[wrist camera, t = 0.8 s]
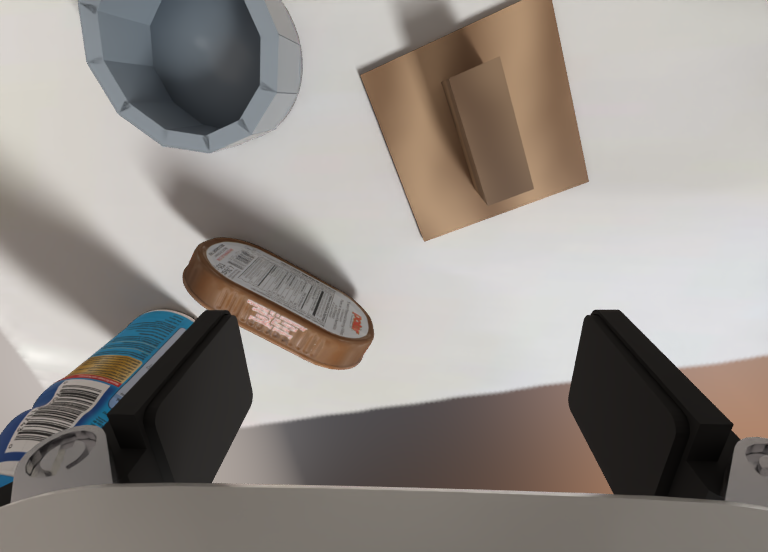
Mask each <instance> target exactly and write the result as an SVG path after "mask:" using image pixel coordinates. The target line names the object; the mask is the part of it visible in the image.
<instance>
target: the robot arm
mask: <svg viewBox="0 0 768 552" xmlns="http://www.w3.org/2000/svg"><path fill="white" fill-rule="evenodd" d="M252 399H253V393H252V387H251V383H250V378H249V373H248V368H247V363H246V359H245V354H244V349H243V344H242V339H241V335H240V330H239V325H238V320H237V318H236V316H235V315H231V313H230V312H229V311H228V310H206V311H204V312H203V313H202V314H201V315H200V316H199V317H198V318H197V319H196V320H195V322H194V323H193V324H192V325H191V326H190V327H189V328H188V329H187V330H186V331H185V332H184V333H183V334H182V335H181V336H180V337H179V338H178V339H177V340H176V342H175V343H174V344H173V345H172V346H171V347H170V348H169V349H168V350H167V351H166V352H165V353H164V354H163V355H162V356H161V357H160V358H159V359H158V361H157V362H156V363H155V364H154V365H153V366H152V367H151V368H150V369H149V370H148V371H147V372H146V373H145V374H144V375H143V376H142V377H141V378H140V379H139V381H138V382H137V383H136V384H135V385H134V386H133V387H132V388H131V389H130V390H129V391H128V392H127V393H126V394H125V395H124V396H123V397H122V398H121V399H120V401H119V402H118V403H117V404H116V405H115V406H114V407H113V408H112V409H111V410H110V411H109V412H108V413H107V417H108V419H109V421H108V422H107V423H106V424H105V425H104V426H103V427H102V428H100V427H98V426H94V425H82V426H75V427H72V428H69V429H66V430H62V431H60V432H58V433H56V434H54V435H51V436H49V437H47V438H46V439H44V440H43V441H41V442H40V443H38V444H36V445H35V446H34V447H33V448H32V449H30V450H29V451H28V452H27V453H26V454H25V455H24V456H23V457H22V459H21V460H20V461H19V462H18V464H17V466H16V469H15V472H14V478H13V482H11V483H9V484H7V485H4V486H2V487H0V552H768V439H766V438H760V437H752V438H751V437H750V438H745V439H742V440H740V439H739V438H738V437H737V436H736V435H735V433H734V432H733V431H732V430H731V429H732V427H733V423H732V422H730V420H729V419H728V418H727V417H726V416H725V415H724V414H723V413H722V412H721V411H720V410H719V409H718V408H717V407H716V406H715V405H714V404H712V402H711V401H710V400H709V399H708V398H707V397H706V396H705V395H704V394H703V393H701V391H700V390H699V389H698V388H697V387H696V386H695V385H694V384H693V383H692V382H691V381H690V380H689V379H688V378H687V377H686V376H685V375H684V374H683V373H682V372H681V371H680V370H679V369H678V368H677V367H676V366H675V365H674V364H673V363H672V362H671V361H670V360H669V359H668V358H667V357H666V356H665V355H664V354H663V353H662V352H661V351H660V350H659V349H658V348H657V347H656V346H655V345H654V344H653V343H652V342H651V341H650V340H649V339H648V338H647V337H646V336H645V335H644V334H643V333H642V332H641V331H640V330H639V329H638V328H637V327H636V326H635V325H634V324H633V323H632V322H631V321H630V320H629V319H628V318H627V317H626V316H625V315H624V314H623V313H622V312H621V311H620V310H594V311H593V312H592V313H591V315H587V316H586V317H585V318H584V321H583V326H582V331H581V336H580V341H579V346H578V351H577V356H576V361H575V366H574V371H573V376H572V381H571V387H570V392H569V397H568V401H569V407H570V410H571V412H572V414H573V416H574V418H575V420H576V422H577V424H578V426H579V428H580V430H581V432H582V434H583V436H584V437H585V439H586V441H587V443H588V445H589V447H590V449H591V451H592V453H593V455H594V457H595V459H596V461H597V463H598V465H599V466H600V468H601V470H602V472H603V474H604V476H605V478H606V480H607V482H608V484H609V486H610V488H611V489H612V491H613V493H614V494H594V493H563V492H531V491H502V490H471V489H468V490H467V489H436V488H400V487H397V488H396V487H361V486H360V487H359V486H321V485H320V486H319V485H318V486H317V485H273V484H272V485H270V484H226V483H212V481H213V479H214V477H215V475H216V473H217V471H218V469H219V467H220V466H221V464H222V462H223V459H224V458H225V456H226V454H227V452H228V450H229V448H230V446H231V444H232V442H233V440H234V438H235V436H236V434H237V432H238V430H239V428H240V426H241V424H242V422H243V420H244V418H245V416H246V414H247V412H248V410H249V409H250V406H251V404H252Z"/></svg>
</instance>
